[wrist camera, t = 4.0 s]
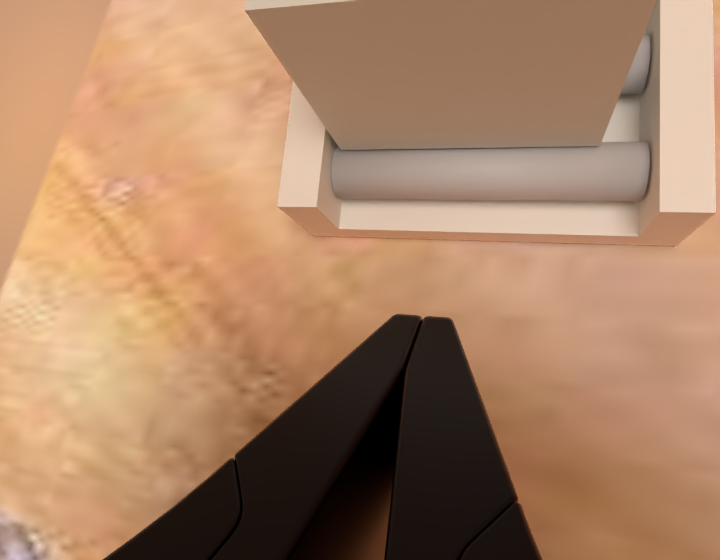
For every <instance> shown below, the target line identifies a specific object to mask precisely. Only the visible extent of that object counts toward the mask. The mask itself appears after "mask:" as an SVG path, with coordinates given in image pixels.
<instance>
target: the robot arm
mask: <svg viewBox="0 0 720 560" xmlns="http://www.w3.org/2000/svg"><path fill="white" fill-rule="evenodd" d="M103 560H542V558H541V555H540V553H539V550H538V548H537V545H536V543H535V541H534V538H533V536H532V533H531V530H530V528H529V525H528V522H527V520H526V517H525V514H524V512H523V509H522V506H521V504H520V503H518V496H517V494H516V491H515V488H514V485H513V483H512V480H511V477H510V475H509V472H508V469H507V466H506V464H505V461H504V458H503V456H502V453H501V450H500V447H499V445H498V442H497V439H496V437H495V434H494V431H493V428H492V426H491V423H490V420H489V418H488V415H487V412H486V409H485V407H484V404H483V401H482V398H481V396H480V393H479V390H478V388H477V385H476V382H475V379H474V377H473V374H472V371H471V369H470V366H469V363H468V360H467V358H466V355H465V352H464V350H463V347H462V344H461V341H460V339H459V336H458V333H457V331H456V328H455V325H454V322H453V321H452V319H450V318H446V317H432V316H427V317H425V318H424V319H422V317H420V316H418V315H404V314H396V315H394V316H392V317H391V318H390V319H389V320H388V321H387V322H385V323H384V324H383V325H382V326H381V327H380V328H379V329H377V330H376V331H375V332H374V333H373V334H372V335H371V336H369V337H368V338H367V339H366V340H365V341H364V342H363V343H361V344H360V345H359V346H358V347H357V348H356V349H355V350H353V351H352V352H351V353H350V354H349V355H348V356H347V357H345V358H344V359H343V360H342V361H341V362H340V363H339V364H337V365H336V366H335V367H334V368H333V369H332V370H331V371H329V372H328V373H327V374H326V375H325V376H324V377H323V378H322V379H320V380H319V381H318V382H317V383H316V384H315V385H314V386H312V387H311V388H310V389H309V390H308V391H307V392H306V393H304V394H303V395H302V396H301V397H300V398H299V399H298V400H296V401H295V402H294V403H293V404H292V405H291V406H290V407H288V408H287V409H286V410H285V411H284V412H283V413H282V414H280V415H279V416H278V417H277V418H276V419H275V420H274V421H272V422H271V423H270V424H269V425H268V426H267V427H266V428H265V429H263V430H262V431H261V432H260V433H259V434H258V435H257V436H255V437H254V438H253V439H252V440H251V441H250V442H249V443H247V444H246V445H245V446H244V447H243V448H242V449H241V450H239V451H238V452H237V453H236V454H235V460H234V459H232V458H231V459H229V460H228V461H227V462H225V463H224V464H223V465H222V466H221V467H220V468H219V469H217V470H216V471H215V472H214V473H213V474H212V475H211V476H209V477H208V478H207V479H206V480H205V481H204V482H202V483H201V484H200V485H199V486H198V487H196V488H195V489H194V490H193V491H192V492H190V493H189V494H188V495H187V496H186V497H184V498H183V499H182V500H181V501H180V502H178V503H177V504H176V505H175V506H174V507H172V508H171V509H170V510H168V511H167V512H166V513H164V514H163V515H162V516H160V517H159V518H158V519H157V520H155V521H154V522H153V523H151V524H150V525H149V526H147V527H146V528H145V529H143V530H142V531H141V532H140V533H138V534H137V535H136V536H134V537H133V538H132V539H130V540H129V541H128V542H126V543H125V544H123V545H122V546H121V547H119V548H118V549H117V550H115V551H114V552H113V553H111V554H110V555H108V556H107V557H106V558H104V559H103Z"/></svg>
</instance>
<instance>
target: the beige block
mask: <svg viewBox="0 0 720 560" xmlns="http://www.w3.org/2000/svg"><path fill="white" fill-rule="evenodd" d="M656 2H657V0H246V7H245V11H246V13H247V14H248V15H249V17H250V18H251V20H252V21H253V23H254V24H255V26H256V27H257V29H258V30H259V31H260V33H261V34H262V36H263V37H264V39H265V40H266V42H267V43H268V45H269V46H270V48H271V49H272V50H273V52H274V53H275V55H276V56H277V58H278V59H279V61H280V62H281V64H282V65H283V66H284V68H285V69H286V71H287V72H288V74H289V75H290V77H291V78H292V80H293V81H294V82H295V84H296V85H297V87H298V88H299V90H300V91H301V93H302V94H303V96H304V97H305V98H306V100H307V101H308V103H309V104H310V106H311V107H312V109H313V110H314V112H315V113H316V115H317V116H318V117H319V119H320V120H321V122H322V123H323V125H324V126H325V128H326V129H327V131H328V132H329V133H330V135H331V136H332V138H333V139H334V141H335V142H336V144H337V145H338V147H339V148H340V149H341V150H370V149H438V148H505V147H573V146H600V145H601V142H602V140H603V137H604V134H605V132H606V129H607V127H608V124H609V122H610V119H611V117H612V114H613V111H614V109H615V106H616V104H617V101H618V99H619V96H620V94H621V91H622V88H623V86H624V83H625V81H626V78H627V76H628V73H629V71H630V68H631V65H632V63H633V60H634V58H635V55H636V53H637V50H638V48H639V45H640V42H641V40H642V37H643V35H644V32H645V30H646V27H647V25H648V22H649V19H650V17H651V14H652V12H653V9H654V7H655V4H656Z"/></svg>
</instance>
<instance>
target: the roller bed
mask: <svg viewBox="0 0 720 560" xmlns="http://www.w3.org/2000/svg"><path fill="white" fill-rule="evenodd" d="M277 207H278V208H280V209H281V210H282V211H283V212H285V213H286V214H287V215H288V216H290V217H291V218H292V219H293V220H295V221H296V222H297V223H298V224H300V225H301V226H302V227H303V228H305V229H306V230H307V231H308V232H310V233H311V234H312V235H313V236H336V237H371V238H407V239H442V240H477V241H512V242H547V243H582V244H617V245H652V246H677V245H678V244H679V243H680V242H682V241H683V240H684V239H685V238H686V237H688V236H689V235H690V234H691V233H692V232H694V231H695V230H696V229H697V228H698V227H699V226H701V225H702V224H703V223H704V222H705V221H707V220H708V219H709V218H710V217H711V216H713V215H714V214H715V213H716V184H715V117H714V50H713V0H657V2H656V4H655V7H654V9H653V12H652V14H651V17H650V19H649V22H648V25H647V27H646V30H645V32H644V35H643V37H642V40H641V42H640V45H639V48H638V50H637V53H636V55H635V58H634V60H633V63H632V65H631V68H630V71H629V73H628V76H627V78H626V81H625V83H624V86H623V88H622V91H621V94H620V96H619V99H618V101H617V104H616V106H615V109H614V111H613V114H612V117H611V119H610V122H609V124H608V127H607V129H606V132H605V134H604V137H603V140H602V142H601V145H600V146H573V147H505V148H438V149H370V150H341V149H340V148H339V147H338V145H337V144H336V142H335V141H334V139H333V138H332V136H331V135H330V133H329V132H328V131H327V129H326V128H325V126H324V125H323V123H322V122H321V120H320V119H319V117H318V116H317V115H316V113H315V112H314V110H313V109H312V107H311V106H310V104H309V103H308V101H307V100H306V98H305V97H304V96H303V94H302V93H301V91H300V90H299V88H298V87H297V85H296V84H295V82H294V81H293V86H292V94H291V102H290V110H289V118H288V126H287V134H286V142H285V150H284V158H283V166H282V174H281V182H280V190H279V198H278V206H277Z"/></svg>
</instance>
